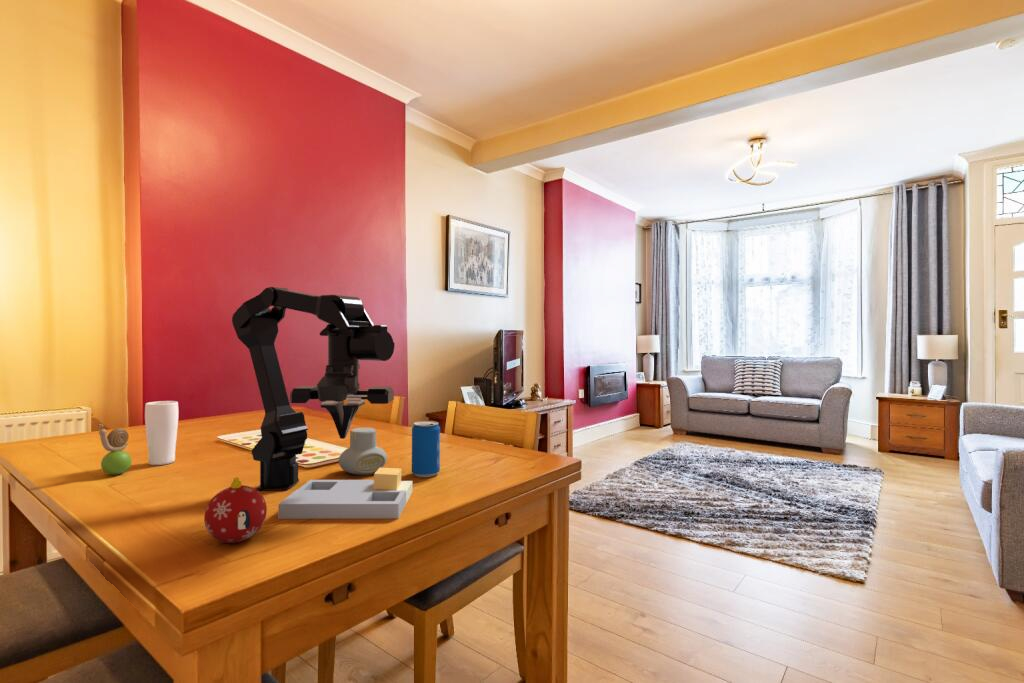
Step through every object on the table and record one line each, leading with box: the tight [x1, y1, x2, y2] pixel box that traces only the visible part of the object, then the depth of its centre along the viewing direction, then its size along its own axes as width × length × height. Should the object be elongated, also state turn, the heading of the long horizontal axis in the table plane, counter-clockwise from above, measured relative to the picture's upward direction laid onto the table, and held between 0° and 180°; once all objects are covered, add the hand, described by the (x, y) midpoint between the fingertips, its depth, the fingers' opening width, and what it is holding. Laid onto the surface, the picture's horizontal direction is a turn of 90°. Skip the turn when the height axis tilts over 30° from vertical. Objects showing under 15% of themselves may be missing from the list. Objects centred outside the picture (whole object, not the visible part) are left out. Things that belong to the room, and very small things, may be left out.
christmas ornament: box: [203, 476, 268, 544], centre depth 78 cm, size 9×9×10 cm
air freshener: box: [338, 427, 388, 476], centre depth 117 cm, size 11×8×10 cm
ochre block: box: [373, 467, 403, 490], centre depth 99 cm, size 4×4×3 cm
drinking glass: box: [144, 400, 180, 466], centre depth 122 cm, size 7×7×15 cm
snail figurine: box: [97, 423, 133, 476], centre depth 112 cm, size 5×6×12 cm
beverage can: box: [411, 420, 441, 478], centre depth 116 cm, size 6×6×12 cm
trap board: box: [278, 479, 414, 520], centre depth 95 cm, size 21×15×3 cm
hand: (343, 438), depth 98 cm, fingers closed
